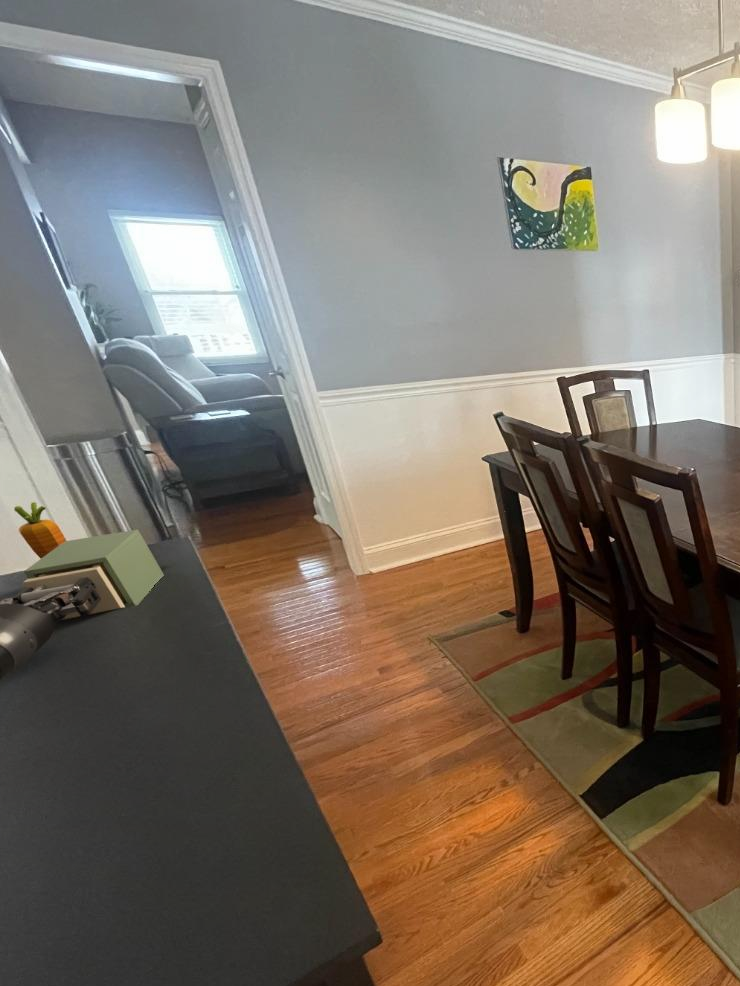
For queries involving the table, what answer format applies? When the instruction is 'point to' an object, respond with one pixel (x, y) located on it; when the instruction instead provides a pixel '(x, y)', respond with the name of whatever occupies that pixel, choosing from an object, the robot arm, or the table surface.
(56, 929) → the table surface
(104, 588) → the drawer
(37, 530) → the carrot
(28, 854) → the table surface
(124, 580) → the cabinet
